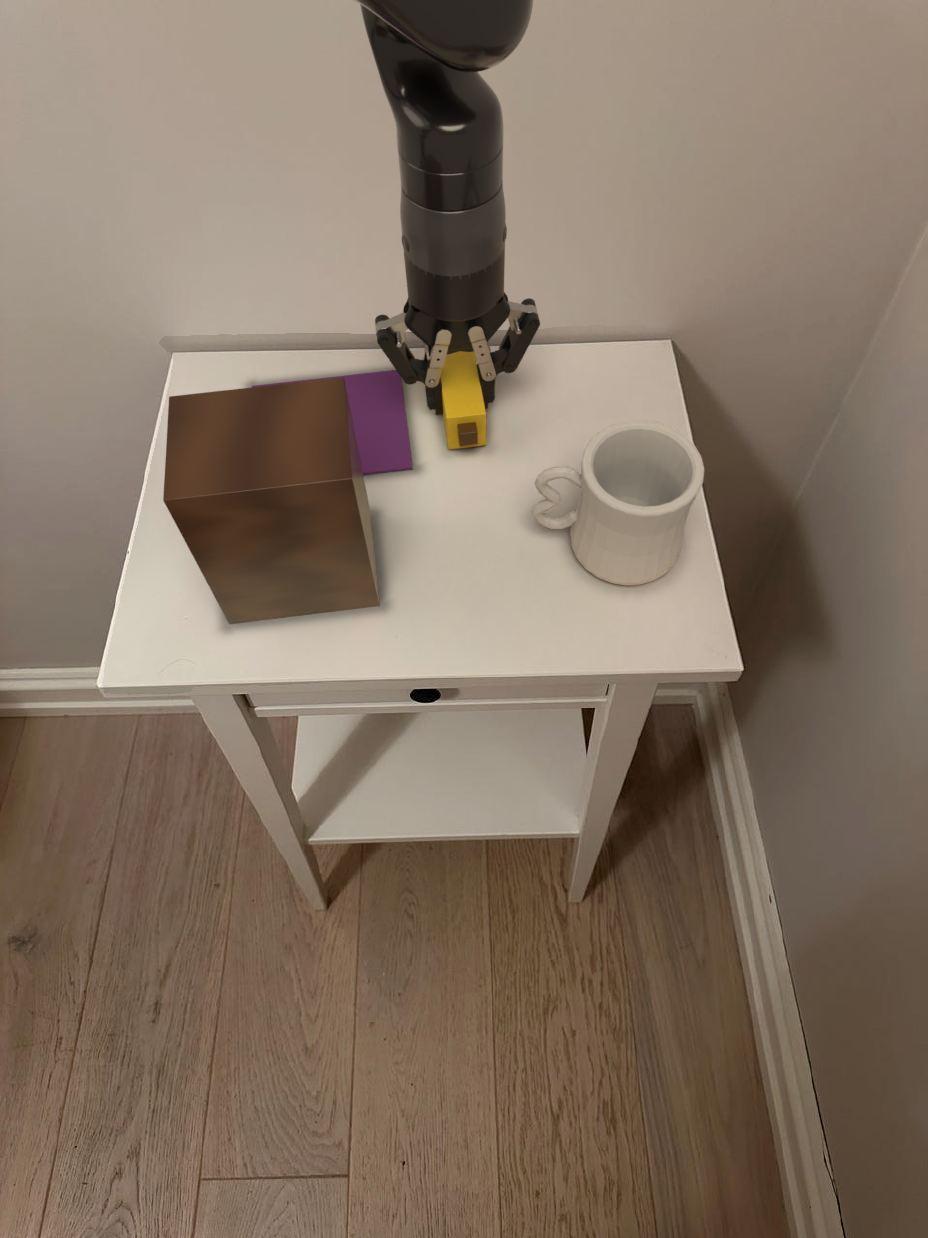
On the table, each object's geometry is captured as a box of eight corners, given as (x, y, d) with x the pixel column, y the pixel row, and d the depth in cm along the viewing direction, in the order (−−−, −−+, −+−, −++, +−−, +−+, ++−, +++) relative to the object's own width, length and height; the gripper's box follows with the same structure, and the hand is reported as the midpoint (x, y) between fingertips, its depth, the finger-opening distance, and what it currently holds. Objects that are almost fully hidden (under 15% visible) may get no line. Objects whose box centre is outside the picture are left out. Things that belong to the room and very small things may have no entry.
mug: (677, 502, 73) (703, 420, 64) (681, 593, 68) (710, 518, 60) (532, 494, 74) (538, 412, 65) (526, 583, 69) (532, 509, 61)
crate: (229, 624, 68) (162, 500, 54) (229, 532, 72) (168, 396, 59) (379, 605, 69) (352, 478, 55) (371, 515, 73) (344, 376, 59)
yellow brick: (435, 370, 81) (433, 337, 77) (471, 366, 81) (470, 333, 77) (449, 460, 75) (448, 428, 72) (488, 455, 75) (488, 424, 72)
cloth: (253, 487, 75) (252, 485, 74) (252, 387, 81) (251, 385, 80) (412, 469, 75) (412, 467, 75) (400, 371, 81) (399, 369, 81)
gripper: (540, 196, 65) (530, 367, 80) (354, 215, 64) (379, 384, 79) (558, 261, 61) (544, 427, 76) (361, 282, 61) (386, 445, 76)
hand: (460, 404), depth 78 cm, fingers closed on yellow brick, 3 cm apart
